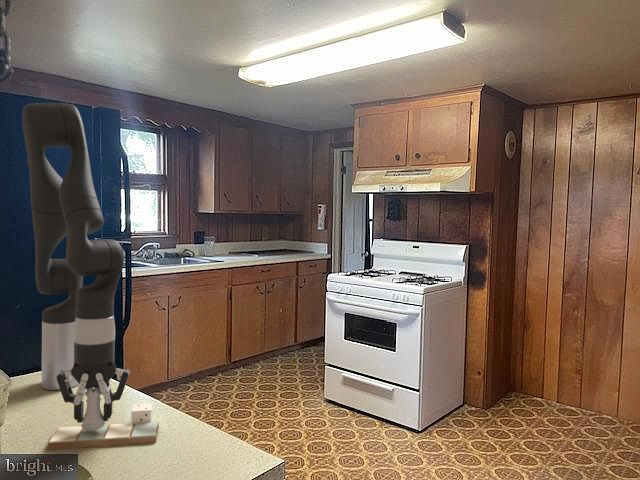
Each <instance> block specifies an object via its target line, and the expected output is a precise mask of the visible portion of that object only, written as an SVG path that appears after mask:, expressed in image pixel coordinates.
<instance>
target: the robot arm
mask: <svg viewBox="0 0 640 480" xmlns="http://www.w3.org/2000/svg"><path fill="white" fill-rule="evenodd" d="M21 115H22V116H21V119H22V120H21V121H22V122H21V123H22V129H23V137H24V143H25V150H26V156H27V163H28V171H29V185H30V186H29V187H30V205H31V206H30V208H31V216H32V217H31V218H32V226H33V233H34V242H35V243H34V244H35V245H34V246H35V247H34V248H35V284H36V289H37V291H38V292H39V293H40V294H41V295H48V296H49V295H68V297H67V298H66V299H65V300H63V301H62V302H60V303H58V304H55V305H52V306H49V307H47V308H45V309H43V310H42V313H41V383H40V384H41V388H42V389H45V390H46V391H47V390H50V391H60V393H61V396H62V399H63V401H64V403H71V404H72V405H73V419H74V420H75V421H76V422H77V423H81V424H82V419H83V418H84V414H85V413H84V412H85V411H84V410H85V409H84V408H85V405H84V404H85V403H84V402H85V401H83V399H84V397H85V393H86V391H87V389H90V388H100V390H101V393H102V394H101V395H102V396H103V397H102V398H103V399H104V403H103V416H104V417H103V421H104V422H108V421H109V419H111V418H112V417H111V416H112V415H113V402H116V401H121V398H122V396H123V393H124V390H125V387H126V384H127V381H128V378H129V376H130V373H131V370H130V369H129V368H125V369H122V368H119V367H117V364H116V362H115V357H116V355H115V349H116V347H115V346H116V345H115V344H116V342H115V341H116V323H115V294H116V292H117V291H116V290H117V287H118V284H119V282H120V281H119V280H120V278H121V274H122V271H123V269H124V268H123V267H124V265H125V253H124V249H123V247H122V246H121V244H120V243H119V242H118V241H117V240H115V239H111V238H110V239H109V238H108V239H105V238H104V239H89V238H88V235H90V234H94V233H96V232H99V231H100V230H101V229H102V228H103V226H104V223H105V220H104V216H103V212H102V208H101V206H100V203H99V199H98V196H97V193H96V190H95V185H94V181H93V176H92V168H91V162H90V156H89V155H90V154H89V150H88V145H87V139H86V133H85V127H84V122H83V119H82V117H81V116H82V115H81V114H80V111H79V109H78V108H77V107H76V106H75V105H74V104H71V103H65V102H64V103H63V102H57V103H56V102H55V103H54V102H51V103H49V102H48V103H45V102H44V103H43V102H41V103H40V102H39V103H34V102H33V103H28V104H25V105H24V106H23V108H22V113H21ZM67 147H70V151H71V158H70V163H69V165H68V167H67V170H66V173H65V174H64V177H61V176H60V175H59V174H58V172H57V171H56V170H55V169H54V168H53V166H52V165H51V163H50V162H49V160H48V159H47V157H46V154H45V149H47V148H48V149H49V148H67ZM65 237H66V247H65V248H66V249H65V258H51V257H52V256H53V252H54V251H55V249H56V248H57V247H58V245H59V244H60V243H61V242H62V241H63V240H64V238H65ZM94 275H95V276H96V278H95V280H94V282H92V283H91V284H88V285H85V286H84V285H83V283H84V277H86V276H94ZM115 374H116V376H117V377H116V380H118V381H119V383H118V385H117V389H116V391H115V392H113V390H112V385H111V380H112V378H113V377H114V376H115ZM77 386H78V388H77V390H76V394H75V393H73V390H72V388H75V387H77Z"/></svg>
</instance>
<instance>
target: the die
mask: <svg viewBox="0 0 640 480" xmlns="http://www.w3.org/2000/svg"><path fill="white" fill-rule="evenodd" d="M130 421H131V422H130V423H133V424H135V423H147V422H154V403H153V402H151V403H150V402H148V403H147V402H146V403H134V404H133V406H132V409H131V419H130Z"/></svg>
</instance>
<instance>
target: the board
mask: <svg viewBox="0 0 640 480" xmlns="http://www.w3.org/2000/svg"><path fill="white" fill-rule="evenodd" d="M159 429H160V422H159V421H152V422H147V423H135V424H133V423H131V422H130V423H115V424H104V426H103V427H102V428H100V429H98V430H93V431H87V430H84V429H83V428H82V427H81V426H64V427H63V426H62V427H61V426H60V427H58V428H57V429H56V430H55V432H54V434H53V435H52V436H51V439H50V440H49V441H48V443H47V450H62V449H77V448H91V447H92V448H94V447H108V446H123V445H124V446H125V445H136V444H137V445H138V444H152V443H153V444H154V443H157V439H158V438H157V437H158V434H159Z"/></svg>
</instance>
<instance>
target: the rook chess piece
mask: <svg viewBox="0 0 640 480" xmlns="http://www.w3.org/2000/svg"><path fill="white" fill-rule="evenodd" d="M101 395H103V394H102V393H101V390H100V388H90V389H86V391H85V393H84V396H85V397H87V399H86V401H85V402H86V411H85V413H84V414H83V419H82V422H81V427H82V428H83V429H84V430H87V431H93V430H98V429H100V428H102V427H103V426H104V425H106V421H103V417H104V414H103V411H102V410H101V408H102V407H101V401H102V398H101Z"/></svg>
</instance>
